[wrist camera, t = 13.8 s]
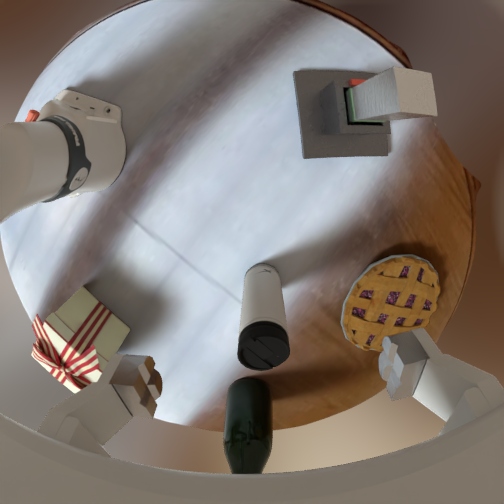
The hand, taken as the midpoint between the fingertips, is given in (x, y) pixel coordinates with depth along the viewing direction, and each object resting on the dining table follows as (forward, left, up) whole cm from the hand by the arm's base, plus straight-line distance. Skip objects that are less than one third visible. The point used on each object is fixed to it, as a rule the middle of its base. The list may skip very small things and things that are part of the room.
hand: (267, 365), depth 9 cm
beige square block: (+2, +18, -31) cm, 36 cm away
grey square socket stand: (+2, +18, -37) cm, 41 cm away
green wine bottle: (+27, -37, -37) cm, 59 cm away
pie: (+33, 0, -38) cm, 50 cm away
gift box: (-12, -44, -37) cm, 59 cm away
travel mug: (+10, -12, -37) cm, 40 cm away
